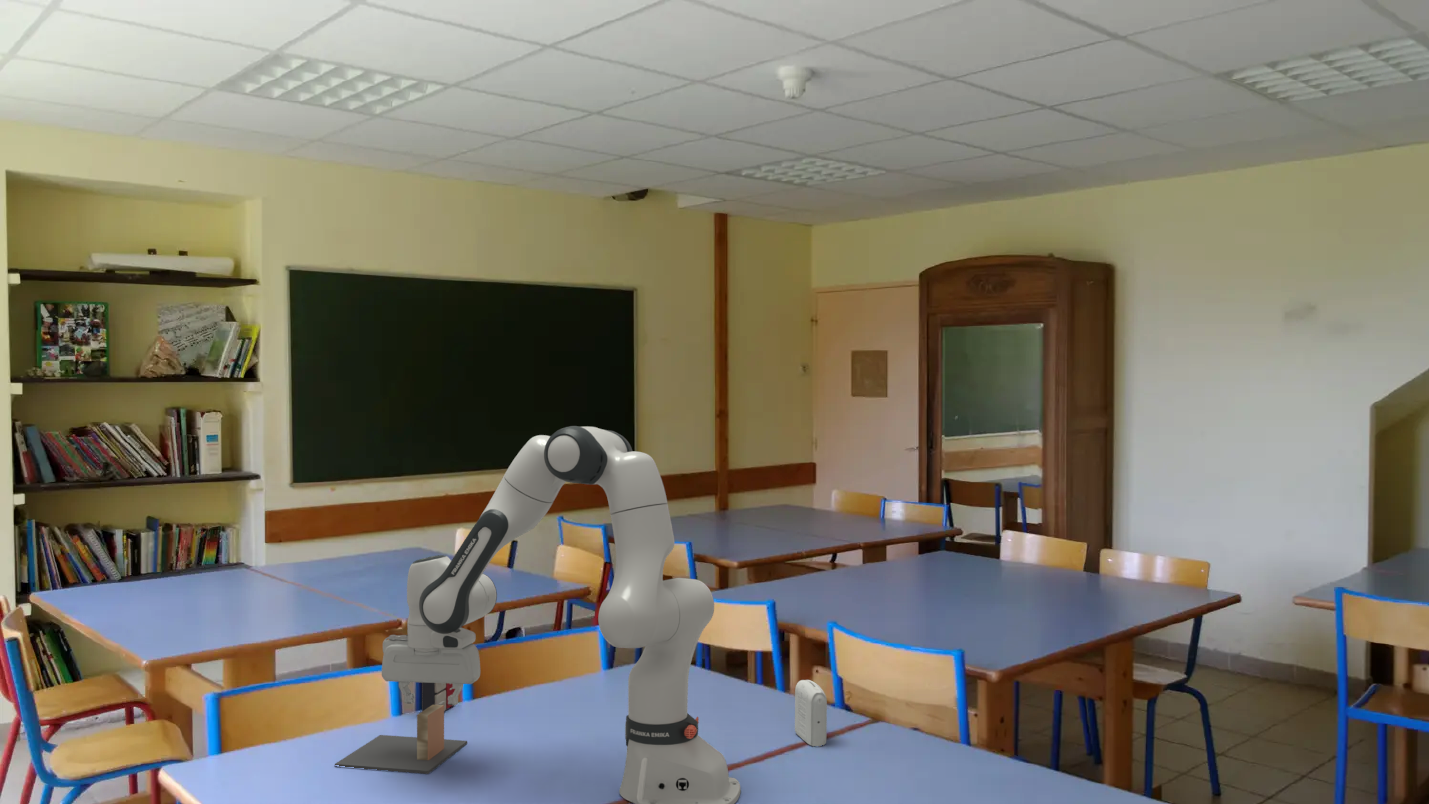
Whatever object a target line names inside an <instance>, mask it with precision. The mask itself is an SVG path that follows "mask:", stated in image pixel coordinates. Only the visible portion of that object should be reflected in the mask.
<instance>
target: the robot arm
mask: <svg viewBox="0 0 1429 804" xmlns="http://www.w3.org/2000/svg"><path fill="white" fill-rule="evenodd" d="M566 482H567V483H569V484H583V485H590V486H591V485H598V486H600V487H601V488H602V489H603V491H604V493H605V495H606V497H607V501H608V509H609V514H610V515H609V516H610V520H611V521H610V522H611V526H612V532H613V541H614V546H615V547H614V548H615V568H614V569H615V570H614V577H613V579H612V585H611V587H610V590H609V592H608V594H607V596H605V598H604V599H603V601H602V603H601V604H600V607H599V609H598V616H597V617H598V618H597V620H598V627H599V630H600V633H601V634H602V636H603V638H604V640H605V641H606V642H607V643H608V644H609V645H610V646H612V647H615V648H620V649H621V648H622V649H623V648H625V649H640V648H643V651H642V653H641V656H640V657H639V659H638V661H637V662H636V663H635V664H634V665H633V667H632V668H631V670H630V671H629V673H628V674H629V675H628V680H627V681H628V682H627V685H628V689H627V690H628V691H627V692H628V693H627V695H628V698H627V699H628V702H627V703H628V705H627V706H628V707H627V708H628V711H627V712H628V713H627V714H626V716H625V722H624V723H625V726H624V737H625V745H626V756H625V757H626V758H625V765H624V771H623V776H622V779H621V780H622V781H621V784H620V787H619V791H618V792H619V795H620V796H621V797H622V798H623V799H624V800H627V801H629V802H631V803H633V804H736V802H737V801H738V800H739V798H740V796H741V791H742V790H741V789H742V788H741V784H740V782H739V780H738V779H737V778H735V777H731V776H730V774H729V770H728V764H727V760H726V758H725V756H724V755H723V753H722V752H721V751H719V750H717V749H716V748H715V747H714V746H713V745H711V744H710V743H708V742H707V741H706V740H705V739H703V738H702V737H701V736H700V735H699V723H700V722H699V721H700V720H699V716H697V717H695V718H694V717H693V716H692V715H691V714H689V713H688V702H689V700H688V698H689V697H688V695H689V692H688V691H689V673H690V668H691V663H692V660H693V657H694V654H695V651H696V648H697V645H698V641H699V640H700V637H701V635H702V633H703V632H704V629H705V628H706V627H707V626H708V625H709V623H710V622H711V621H712V618H713V616H714V612H715V600H714V597H713V594H712V591H711V590H710V588H709V587H708V586H707V584H706V583H704V582H703V581H701V580H699V579H695V578H685V577H675V578H669V579H665V580H664V579H663V577H664V575H663V574H664V566H665V562H666V560H667V558H668V556H669V555H670V554H671V553H672V551H673V550H674V547H675V542H676V541H675V536H674V535H675V534H674V530H673V523H672V520H671V514H670V509H669V504H668V499H667V495H666V494H667V493H666V489H665V486H664V482H663V479H662V477H661V473H660V471H659V468H658V467H657V464H656V461H655V460H654V459H653V457H652V456H651V455H650V454H648V453H646V452H643V451H642V452H641V451H633V449H632V446H631V444H630V442H629V441H628V440H627V439H626V438H625V437H624V436H623V435H621V434H620V433H618V432H616V431H614V430H609V429H608V430H607V429H602V428H598V427H596V426H588V425H587V426H577V425H570V426H565V427H563V428H560V429H558V430H556V431H555V432H554V433H552V434H551V435H546V434H545V435H544V434H539V435H535V436H532V437H531V438H529V440H528V441H527V442H526V443H525V444H524V445H523V446H522V448H521V449H520V450H519V451H518V453H517V455H516V456H515V457H514V459H513V460H512V462H511V463H510V465H509V466H508V468H507V469H506V471H505V472H504V475H503V477H502V479H500V482H499V484H498V486H497V488H496V489H495V491H494V493H493V495H492V497H491V498H490V500H489V501H488V504H487V505H486V507H485V508H484V510H483V512H482V513H481V515H480V516H479V519H477V521H476V523H475V524H474V526H473V527H472V528H471V529H470V531H469V532H468V534H467V536H466V537H465V539H464V541H463V542H462V544H461V545H460V547H459V548H458V550H457V551H456V553H455V554H454V556H453V557H452V559H450V557H449V556H447V555H444V554H443V555H442V554H440V555H439V554H437V555H432V556H428V557H423V558H419V559H416V560H415V561H413V562H412V563H411V564H410V567H409V569H408V573H407V582H406V583H407V585H406V603H407V607H408V611H409V612H408V617H407V634H398V635H396V634H390V635H388V637H385V639H384V640H383V641H382V653H383V654H382V655H383V657H382V664H381V677H382V678H383V680H384V682H393V683H394V682H395V683H397V682H398V688H399V690H400V691H401V693H402V695H403V696H404V698H403V699H404V704H406V705H407V704H410V705H411V704H412V705H413V704H414V703H415V702H416V698H415V697H416V694H415V692H411V690H410V687H409V685H410V684H411V683H422V682H423V683H452V684H453V689H455V691H454V693H453V695H450V696H448V705H453V706H456V705H458V703H459V696H460V693H461V691H462V690H463V687H464V685H472V684H473V683H475V682H477V681H478V680H479V678H480V676H481V661H480V660H481V659H480V653H479V649H478V648H477V646H476V645H475V644H474V643H475V642H476V638H477V637H476V633H475V632H474V631H473V630H469V629H467V628H463V626H466V625H468V624H471V623H473V622H475V621H477V620H479V619H482V618H483V617H485V616H487V615H488V614H490V613H491V612H492V611H493V610H494V608H495V606H496V604H497V600H498V593H497V587H496V585H495V583H494V581H493V579H491V578H490V577H489V576H488V575H487V574H485V573H484V572H485V570H486V569H487V567H488V566H489V565H490V563H491V562H492V559H493V558H494V557H495V556H496V554H497V553H498V552H500V551H501V550H502V549H503V548H504V547H505V546H507V545H508V544H510V543H511V542H513V541H514V540H515V539H518V538H519V537H521V536H524V535H525V534H526V533H528V532H531V530H533V529H535V528H536V527H537V526H538V524H539V523H540V522H541V521H542V519H543V518H544V517H545V516H546V514H547V513H548V511H550V508H551V507H552V505H553V504H554V501H555V499H556V498H557V496H558V494H559V492H560V490H561V488H562V487H563V486H564V484H566Z"/></svg>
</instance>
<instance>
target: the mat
mask: <svg viewBox="0 0 1429 804" xmlns="http://www.w3.org/2000/svg"><path fill="white" fill-rule="evenodd" d="M466 745H468V740H459V739H446V738H444V749H443V750H442V751H440V752H439V753H438V754H436V755H435V756H434V757H432V758H431V759H430V760H417V736H415V737H413V736H402V735H400V736H399V735H388V734H387V735H386V734H379V735H378V736H376V737H374V738H373V739H372V740H370V741H368V742H366V743H365V744H363V745H362V746H360V747H359V748H357V749H355V750H354V751H352V752H351V753H349V754H348V755H346V756H345V757H344V758H342V759H341V760H339V761H336V763H334V766H335V765H339V766H345V767H354V768H364V769H363V770H368V769H377V770H376V771H381V770H388V771H387V772H394V771H398V773H407V772H409V773H410V774H420V775H421V774H423V775H429V774H430V773H432V772H433V771H434V770H436V769H437V768H439V767H440V766H441V765H442V764H443V763H445V762H446V761H447V760H448V759H450V758H451V757H452V756H454V755H455V754H456V753H458V752H459V751H460V750H461V749H463V748H464V747H466ZM354 768H353V769H354Z"/></svg>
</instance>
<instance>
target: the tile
mask: <svg viewBox="0 0 1429 804" xmlns="http://www.w3.org/2000/svg"><path fill="white" fill-rule="evenodd" d="M416 737H417V760H430V759H431V758H432V757H434V756H435V755H436V754H438V753H439V752H440V751H442V750H443V749H444V739H445V711H444V705H431V706H430V707H428V708H427V709H425V710H424V711H422V710H421V712H419V713H417V715H416Z"/></svg>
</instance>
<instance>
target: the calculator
mask: <svg viewBox="0 0 1429 804" xmlns="http://www.w3.org/2000/svg"><path fill="white" fill-rule="evenodd" d="M454 691H455V689H453V684H452V683H423V682H421V712H422V711H424V710H425V709H427V708H428V707H430V706H431V705H444V712H445V711H447V710H449V709H450V708H452V707H453V706H454V705H448V696H450V695H453V693H454ZM448 708H449V709H448Z"/></svg>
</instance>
